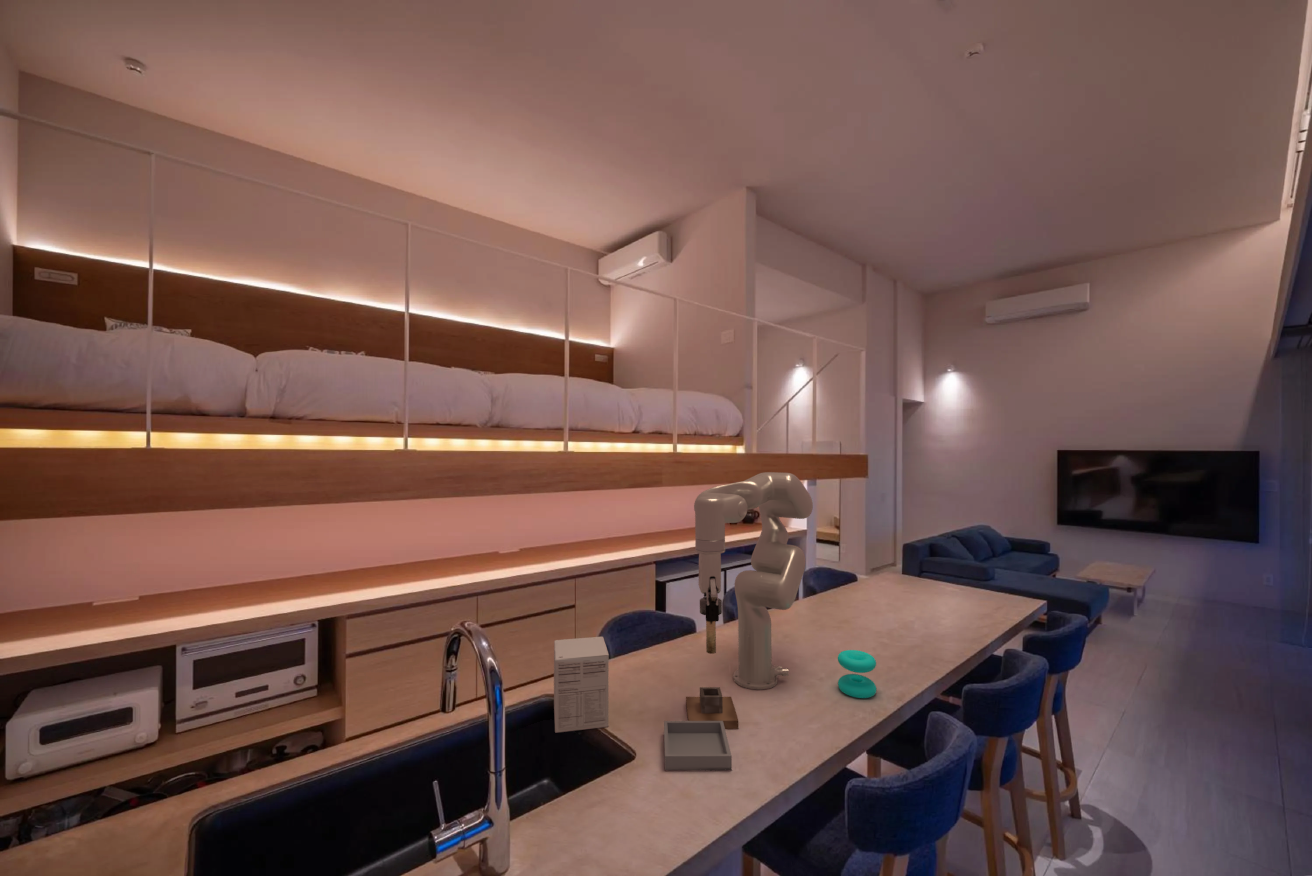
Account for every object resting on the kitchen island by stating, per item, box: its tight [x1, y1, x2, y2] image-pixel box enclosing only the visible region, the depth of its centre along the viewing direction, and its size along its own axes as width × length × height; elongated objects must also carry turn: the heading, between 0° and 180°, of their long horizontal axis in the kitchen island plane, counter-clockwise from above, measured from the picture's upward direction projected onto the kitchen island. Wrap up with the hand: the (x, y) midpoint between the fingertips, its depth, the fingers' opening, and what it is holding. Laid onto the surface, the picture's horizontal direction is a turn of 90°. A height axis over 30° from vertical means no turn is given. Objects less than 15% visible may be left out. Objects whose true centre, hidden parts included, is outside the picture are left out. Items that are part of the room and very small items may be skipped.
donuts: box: [837, 649, 877, 699], centre depth 143 cm, size 10×10×10 cm
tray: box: [663, 720, 733, 772], centre depth 115 cm, size 14×14×3 cm
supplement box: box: [553, 636, 610, 733], centre depth 130 cm, size 13×13×18 cm
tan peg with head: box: [699, 597, 723, 655], centre depth 130 cm, size 6×6×13 cm
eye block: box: [685, 686, 740, 730], centre depth 130 cm, size 12×12×6 cm
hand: (710, 616), depth 130 cm, fingers closed on tan peg with head, 5 cm apart
